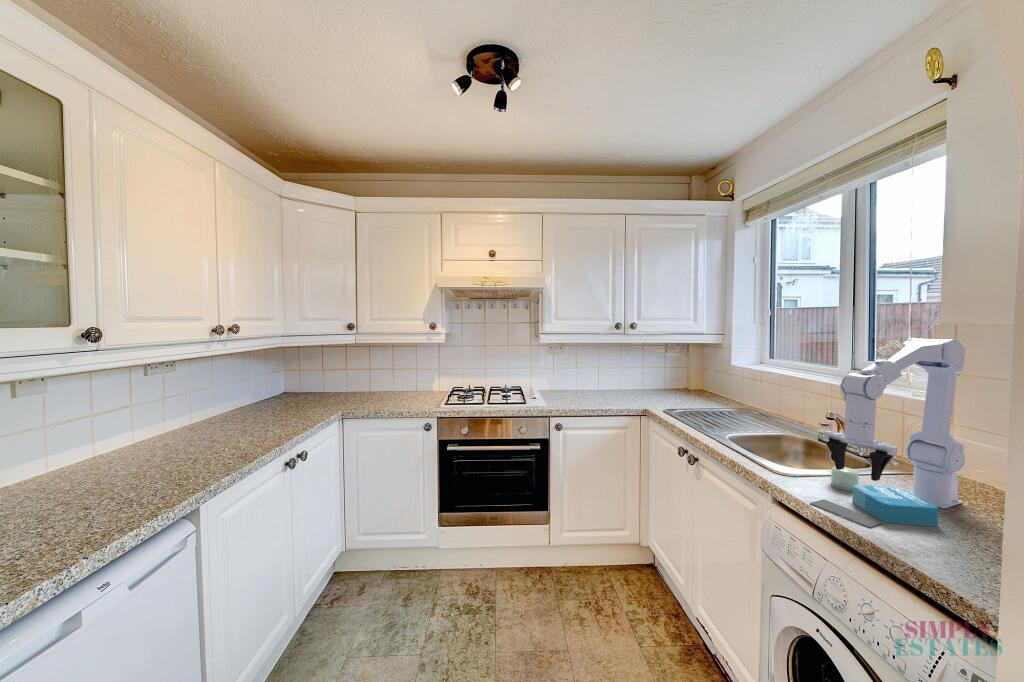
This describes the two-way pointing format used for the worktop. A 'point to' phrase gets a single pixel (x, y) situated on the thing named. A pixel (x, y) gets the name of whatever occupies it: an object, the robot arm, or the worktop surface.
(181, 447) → the worktop surface
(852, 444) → the robot arm
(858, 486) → the data package
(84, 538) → the worktop surface
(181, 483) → the worktop surface
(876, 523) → the rubber mat
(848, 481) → the mint green soap bar
